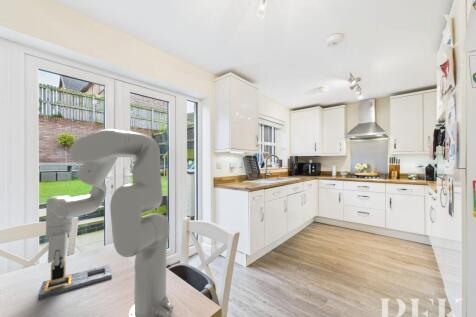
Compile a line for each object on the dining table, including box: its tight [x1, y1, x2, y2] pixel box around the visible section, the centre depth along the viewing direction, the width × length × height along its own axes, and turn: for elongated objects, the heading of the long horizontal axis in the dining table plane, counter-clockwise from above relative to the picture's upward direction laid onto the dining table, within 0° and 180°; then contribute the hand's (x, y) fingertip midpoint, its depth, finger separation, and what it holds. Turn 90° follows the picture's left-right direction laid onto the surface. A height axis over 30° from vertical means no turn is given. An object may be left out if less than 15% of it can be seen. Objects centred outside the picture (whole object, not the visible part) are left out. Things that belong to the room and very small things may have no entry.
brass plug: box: [50, 257, 67, 284], centre depth 79 cm, size 4×4×7 cm
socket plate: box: [38, 264, 113, 300], centre depth 83 cm, size 22×10×2 cm, turn 127°
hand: (58, 275), depth 79 cm, fingers closed on brass plug, 4 cm apart
